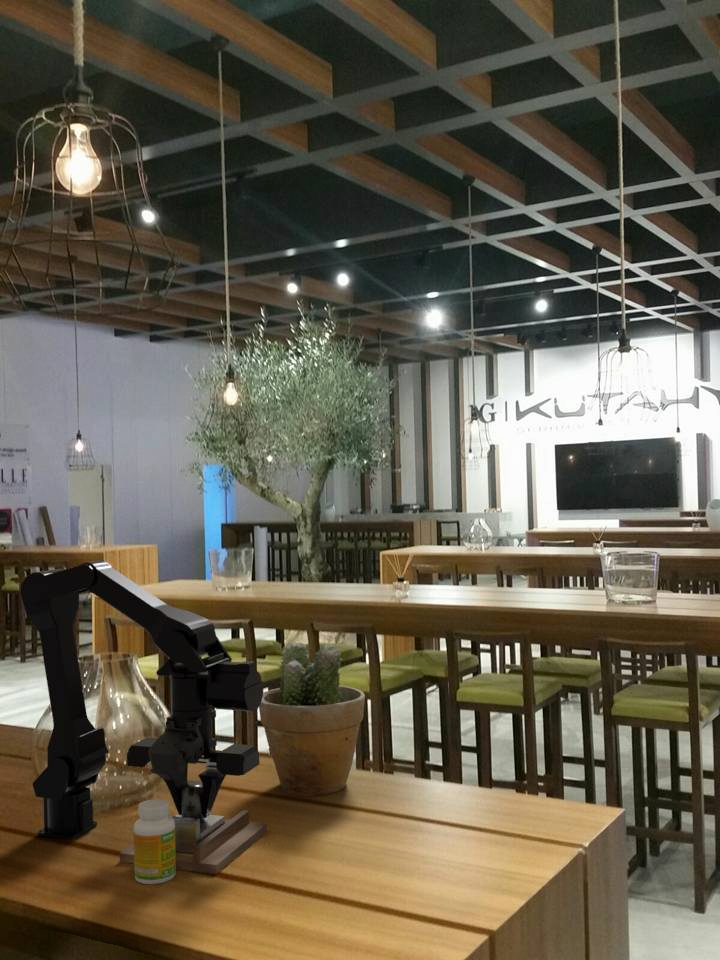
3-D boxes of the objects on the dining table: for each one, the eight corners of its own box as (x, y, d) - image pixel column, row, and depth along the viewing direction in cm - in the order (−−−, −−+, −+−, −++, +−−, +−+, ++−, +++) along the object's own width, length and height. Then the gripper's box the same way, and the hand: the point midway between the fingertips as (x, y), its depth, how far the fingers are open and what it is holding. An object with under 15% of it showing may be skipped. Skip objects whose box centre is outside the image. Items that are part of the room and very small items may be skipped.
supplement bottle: (166, 886, 123) (164, 811, 123) (127, 884, 124) (125, 809, 124) (182, 869, 128) (180, 797, 128) (145, 867, 129) (143, 796, 129)
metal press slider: (152, 848, 132) (151, 795, 132) (182, 828, 140) (180, 777, 140) (197, 853, 130) (196, 799, 130) (224, 832, 137) (223, 781, 137)
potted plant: (237, 791, 161) (233, 643, 161) (305, 763, 176) (301, 628, 176) (323, 810, 150) (320, 652, 150) (388, 779, 165) (384, 635, 165)
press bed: (119, 861, 132) (119, 840, 132) (178, 821, 147) (178, 802, 147) (216, 874, 127) (216, 851, 127) (267, 831, 142) (266, 811, 142)
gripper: (102, 716, 132) (105, 829, 132) (223, 725, 126) (226, 843, 126) (146, 698, 142) (149, 802, 142) (259, 705, 136) (262, 814, 136)
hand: (194, 815), depth 136 cm, fingers closed on metal press slider, 4 cm apart
